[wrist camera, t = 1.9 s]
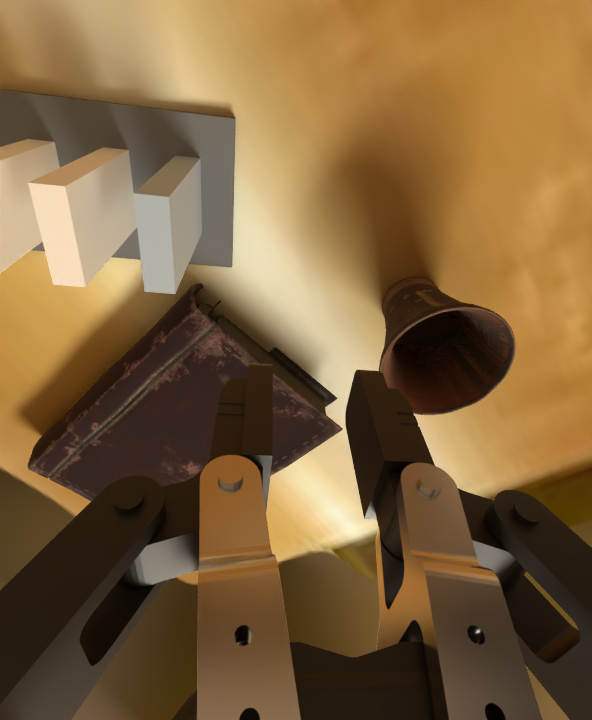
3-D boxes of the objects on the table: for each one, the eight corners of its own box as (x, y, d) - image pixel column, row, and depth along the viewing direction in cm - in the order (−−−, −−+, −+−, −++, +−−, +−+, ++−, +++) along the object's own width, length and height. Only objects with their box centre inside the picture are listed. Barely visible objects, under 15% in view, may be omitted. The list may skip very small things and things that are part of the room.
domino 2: (103, 147, 27) (27, 182, 18) (128, 150, 27) (65, 186, 19) (114, 224, 29) (53, 284, 21) (137, 226, 30) (85, 287, 21)
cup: (324, 325, 35) (358, 392, 27) (393, 237, 32) (456, 280, 24) (397, 370, 39) (446, 441, 30) (465, 294, 36) (541, 349, 27)
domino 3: (175, 155, 27) (133, 193, 19) (200, 158, 27) (168, 196, 19) (179, 230, 30) (144, 291, 22) (202, 232, 30) (175, 294, 22)
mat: (-195, 65, 24) (-205, 65, 23) (235, 118, 26) (234, 118, 26) (-116, 234, 30) (-122, 236, 29) (232, 264, 32) (231, 267, 32)
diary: (43, 430, 43) (18, 468, 39) (197, 274, 33) (185, 302, 29) (186, 507, 51) (177, 545, 47) (341, 399, 42) (348, 435, 37)
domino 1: (28, 138, 26) (-84, 171, 18) (54, 141, 26) (-44, 175, 18) (47, 218, 29) (-42, 277, 21) (70, 220, 29) (-9, 279, 21)
